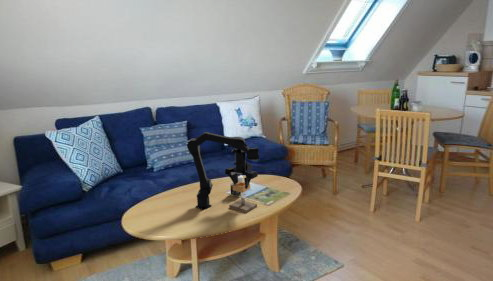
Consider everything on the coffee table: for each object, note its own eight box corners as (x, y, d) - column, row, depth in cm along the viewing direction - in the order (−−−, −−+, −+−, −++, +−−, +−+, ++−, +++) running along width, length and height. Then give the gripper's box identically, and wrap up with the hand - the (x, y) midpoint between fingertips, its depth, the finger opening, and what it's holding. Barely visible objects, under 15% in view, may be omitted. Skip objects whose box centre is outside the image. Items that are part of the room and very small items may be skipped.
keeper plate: (246, 212, 184) (246, 203, 183) (229, 207, 191) (228, 198, 189) (257, 206, 192) (256, 197, 190) (240, 201, 199) (239, 193, 197)
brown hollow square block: (243, 192, 185) (242, 187, 185) (232, 190, 189) (232, 185, 189) (250, 188, 191) (250, 183, 190) (240, 186, 195) (239, 181, 194)
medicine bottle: (230, 195, 209) (230, 176, 206) (236, 191, 215) (235, 173, 212) (240, 197, 206) (240, 178, 203) (246, 193, 212) (245, 174, 209)
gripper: (262, 159, 187) (263, 186, 191) (235, 154, 198) (236, 180, 201) (251, 164, 179) (252, 192, 182) (223, 159, 189) (224, 186, 193)
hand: (241, 187), depth 190 cm, fingers closed on brown hollow square block, 7 cm apart
